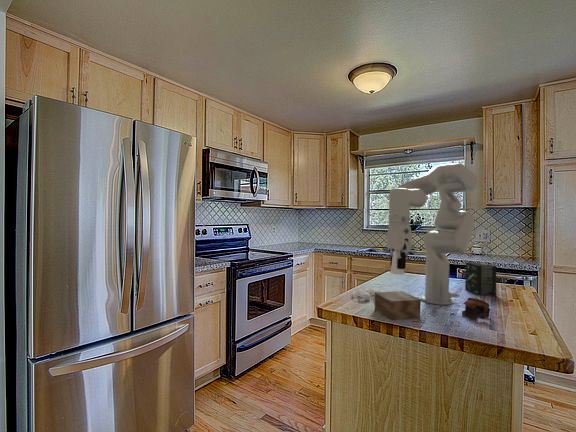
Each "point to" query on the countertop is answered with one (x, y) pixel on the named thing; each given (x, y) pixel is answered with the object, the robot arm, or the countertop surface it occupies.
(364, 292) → the tangled rod sculpture
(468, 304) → the dark brown rounded lump
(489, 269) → the tampon box
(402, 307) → the walnut box
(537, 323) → the countertop surface
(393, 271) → the pepper shaker
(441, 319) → the countertop surface
